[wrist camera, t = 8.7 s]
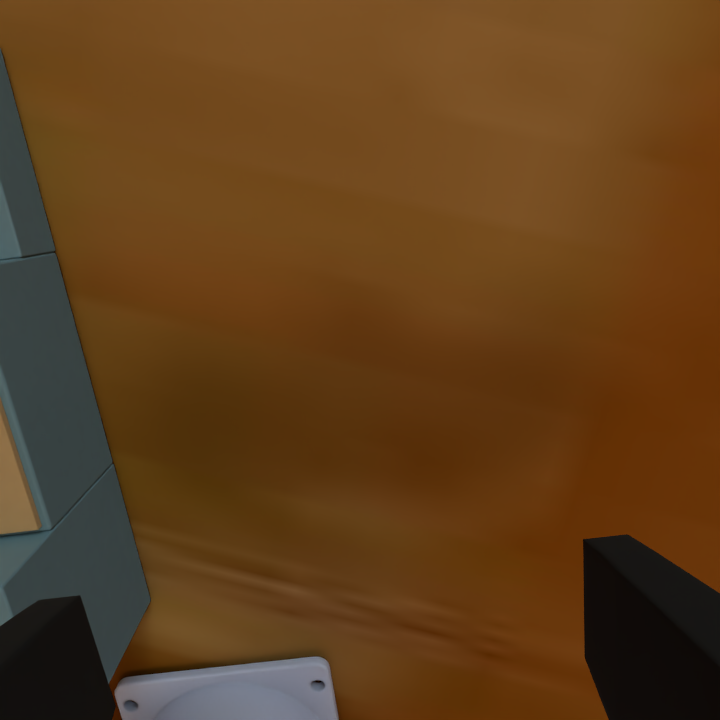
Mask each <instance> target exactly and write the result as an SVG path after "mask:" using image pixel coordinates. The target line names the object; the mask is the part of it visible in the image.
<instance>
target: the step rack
mask: <svg viewBox="0 0 720 720" xmlns="http://www.w3.org/2000/svg"><path fill="white" fill-rule="evenodd" d="M54 251H55V246H54V243H53V239H52V235H51V232H50V228H49V224H48V221H47V217H46V213H45V210H44V206H43V202H42V199H41V195H40V191H39V188H38V184H37V180H36V177H35V173H34V169H33V166H32V162H31V158H30V155H29V151H28V147H27V144H26V140H25V136H24V133H23V129H22V125H21V122H20V118H19V114H18V111H17V107H16V103H15V100H14V96H13V92H12V89H11V85H10V81H9V78H8V74H7V70H6V67H5V63H4V59H3V56H2V52H1V49H0V626H1V625H2V624H4V623H5V622H7V621H8V620H10V619H11V618H12V617H14V616H15V615H17V614H18V613H20V612H21V611H23V610H24V609H26V608H27V607H29V606H30V605H32V604H34V603H35V602H37V601H38V600H42V599H51V598H60V597H69V596H78V595H80V596H81V599H82V602H83V605H84V608H85V611H86V614H87V618H88V621H89V624H90V627H91V630H92V633H93V636H94V640H95V643H96V646H97V649H98V652H99V655H100V658H101V662H102V665H103V668H104V671H105V674H106V677H107V680H108V684H109V682H110V680H111V678H112V676H113V674H114V672H115V670H116V668H117V666H118V664H119V662H120V660H121V658H122V656H123V654H124V652H125V650H126V649H127V647H128V645H129V643H130V641H131V639H132V637H133V635H134V633H135V631H136V629H137V627H138V625H139V623H140V621H141V619H142V617H143V615H144V613H145V611H146V609H147V607H148V605H149V603H150V601H151V599H150V595H149V592H148V588H147V584H146V581H145V577H144V573H143V570H142V566H141V562H140V559H139V555H138V551H137V548H136V544H135V540H134V537H133V533H132V529H131V526H130V522H129V518H128V515H127V511H126V507H125V504H124V500H123V496H122V493H121V489H120V485H119V482H118V478H117V474H116V471H115V467H114V464H112V458H111V454H110V450H109V447H108V443H107V439H106V436H105V432H104V428H103V425H102V421H101V417H100V414H99V410H98V406H97V403H96V399H95V395H94V392H93V388H92V384H91V381H90V377H89V373H88V370H87V366H86V362H85V359H84V355H83V351H82V348H81V344H80V340H79V337H78V333H77V329H76V326H75V322H74V318H73V315H72V311H71V307H70V304H69V300H68V296H67V293H66V289H65V285H64V282H63V278H62V274H61V271H60V267H59V263H58V260H57V256H56V254H55V253H53V252H54Z"/></svg>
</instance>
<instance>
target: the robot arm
mask: <svg viewBox="0 0 720 720" xmlns="http://www.w3.org/2000/svg"><path fill="white" fill-rule="evenodd" d="M583 552H584V634H585V659H586V662H587V664H588V667H589V669H590V672H591V675H592V677H593V680H594V683H595V685H596V688H597V690H598V693H599V696H600V698H601V701H602V703H603V706H604V708H605V711H606V713H607V716H608V718H609V720H720V593H718V592H717V591H715V590H713V589H712V588H710V587H709V586H707V585H706V584H704V583H703V582H701V581H700V580H698V579H696V578H695V577H693V576H692V575H690V574H689V573H687V572H686V571H684V570H683V569H681V568H680V567H678V566H677V565H675V564H673V563H672V562H670V561H669V560H667V559H666V558H664V557H663V556H661V555H660V554H658V553H656V552H655V551H653V550H652V549H650V548H649V547H647V546H645V545H644V544H642V543H641V542H639V541H637V540H636V539H634V538H632V537H631V536H629V535H619V536H610V537H601V538H591V539H583ZM315 680H320V681H322V682H320V683H318V682H314V681H315ZM114 692H115V698H116V701H117V704H118V708H119V711H120V714H121V717H122V720H339V717H338V711H337V705H336V699H335V694H334V688H333V682H332V676H331V671H330V665H329V663H328V661H326V660H325V659H324V658H322V657H315V656H314V657H305V658H296V659H287V660H277V661H268V662H259V663H250V664H240V665H231V666H222V667H213V668H204V669H194V670H185V671H176V672H167V673H157V674H148V675H139V676H130V677H125V678H123V679H121V680H120V681H119V683H118V685H117V687H116V689H115V691H114ZM130 700H132V701H134V702H132V701H130ZM115 707H116V706H115V702H114V699H113V696H112V693H111V690H110V687H109V684H108V680H107V677H106V674H105V671H104V668H103V665H102V662H101V658H100V655H99V652H98V649H97V646H96V643H95V640H94V636H93V633H92V630H91V627H90V624H89V621H88V618H87V614H86V611H85V608H84V605H83V602H82V599H81V596H80V595H78V596H69V597H60V598H51V599H42V600H38V601H37V602H35V603H34V604H32V605H30V606H29V607H27V608H26V609H24V610H23V611H21V612H20V613H18V614H17V615H15V616H14V617H12V618H11V619H10V620H8V621H7V622H5V623H4V624H2V625H1V626H0V720H112V717H113V714H114V711H115Z"/></svg>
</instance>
